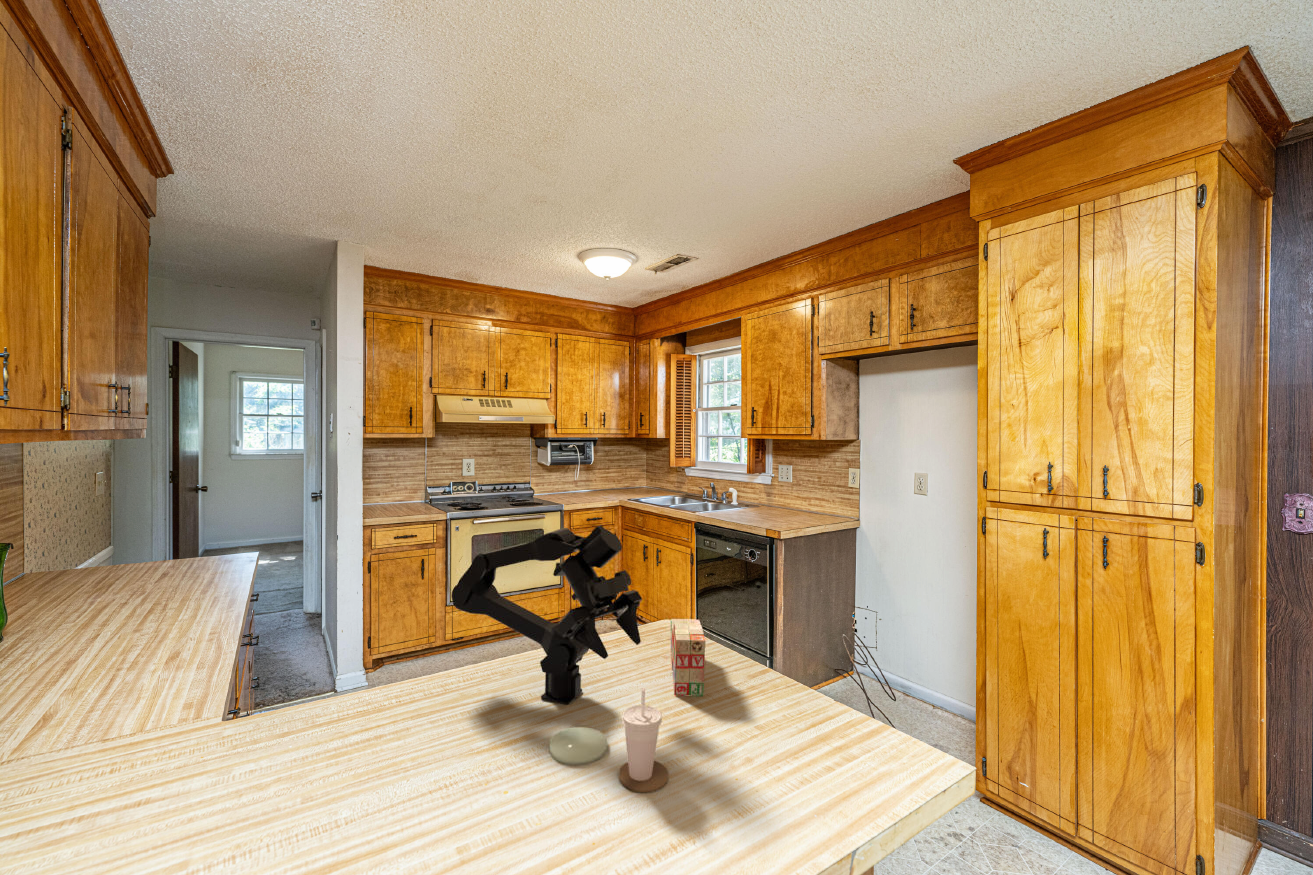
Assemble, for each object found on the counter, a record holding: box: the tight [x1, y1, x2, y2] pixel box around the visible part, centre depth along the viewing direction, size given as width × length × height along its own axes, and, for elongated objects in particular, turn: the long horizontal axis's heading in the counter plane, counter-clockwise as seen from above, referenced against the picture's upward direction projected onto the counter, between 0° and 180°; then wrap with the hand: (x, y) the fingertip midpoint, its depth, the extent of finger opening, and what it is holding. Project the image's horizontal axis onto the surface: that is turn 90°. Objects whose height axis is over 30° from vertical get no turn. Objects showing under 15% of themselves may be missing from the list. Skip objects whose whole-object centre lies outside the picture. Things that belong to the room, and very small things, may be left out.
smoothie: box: [621, 688, 663, 781], centre depth 93 cm, size 6×6×14 cm
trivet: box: [618, 760, 669, 794], centre depth 93 cm, size 8×8×1 cm
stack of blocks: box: [670, 618, 706, 697], centre depth 132 cm, size 21×6×12 cm, turn 1°
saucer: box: [548, 726, 608, 766], centre depth 101 cm, size 10×10×1 cm
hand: (623, 650), depth 110 cm, fingers open, 9 cm apart
